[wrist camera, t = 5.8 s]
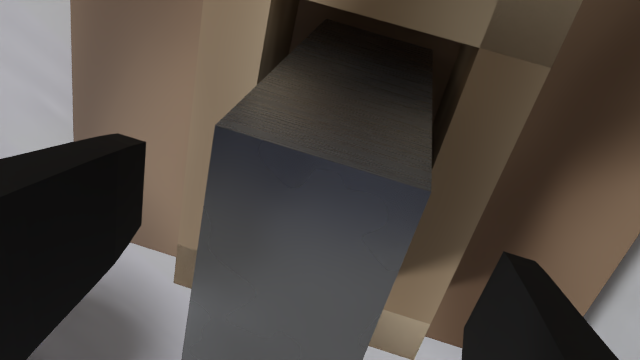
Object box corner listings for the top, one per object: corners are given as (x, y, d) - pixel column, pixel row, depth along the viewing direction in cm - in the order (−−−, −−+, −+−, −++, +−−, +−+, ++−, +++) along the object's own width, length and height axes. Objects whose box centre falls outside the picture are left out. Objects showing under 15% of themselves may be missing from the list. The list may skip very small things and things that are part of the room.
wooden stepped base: (785, -49, 12) (949, -32, 8) (536, 343, 19) (562, 452, 15) (101, -224, 13) (-37, -281, 10) (98, 205, 20) (18, 274, 16)
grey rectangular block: (432, 49, 13) (431, 192, 7) (370, 227, 16) (323, 454, 10) (325, 18, 14) (214, 124, 7) (283, 199, 17) (175, 403, 10)
